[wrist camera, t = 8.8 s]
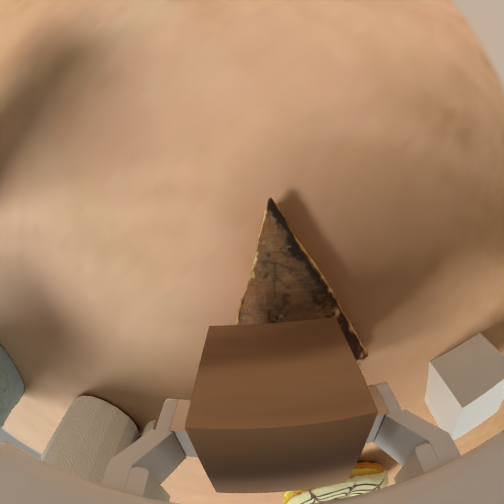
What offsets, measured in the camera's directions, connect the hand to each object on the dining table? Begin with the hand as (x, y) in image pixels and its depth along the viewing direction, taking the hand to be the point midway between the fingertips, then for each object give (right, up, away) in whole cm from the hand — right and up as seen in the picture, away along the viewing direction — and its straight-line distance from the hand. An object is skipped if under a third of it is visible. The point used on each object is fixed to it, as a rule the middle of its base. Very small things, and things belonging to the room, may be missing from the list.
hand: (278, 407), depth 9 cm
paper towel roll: (-12, -8, +8) cm, 17 cm away
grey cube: (+14, -3, +6) cm, 16 cm away
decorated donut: (+8, -18, +12) cm, 23 cm away
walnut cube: (0, +1, +2) cm, 2 cm away
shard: (0, +2, +6) cm, 6 cm away
